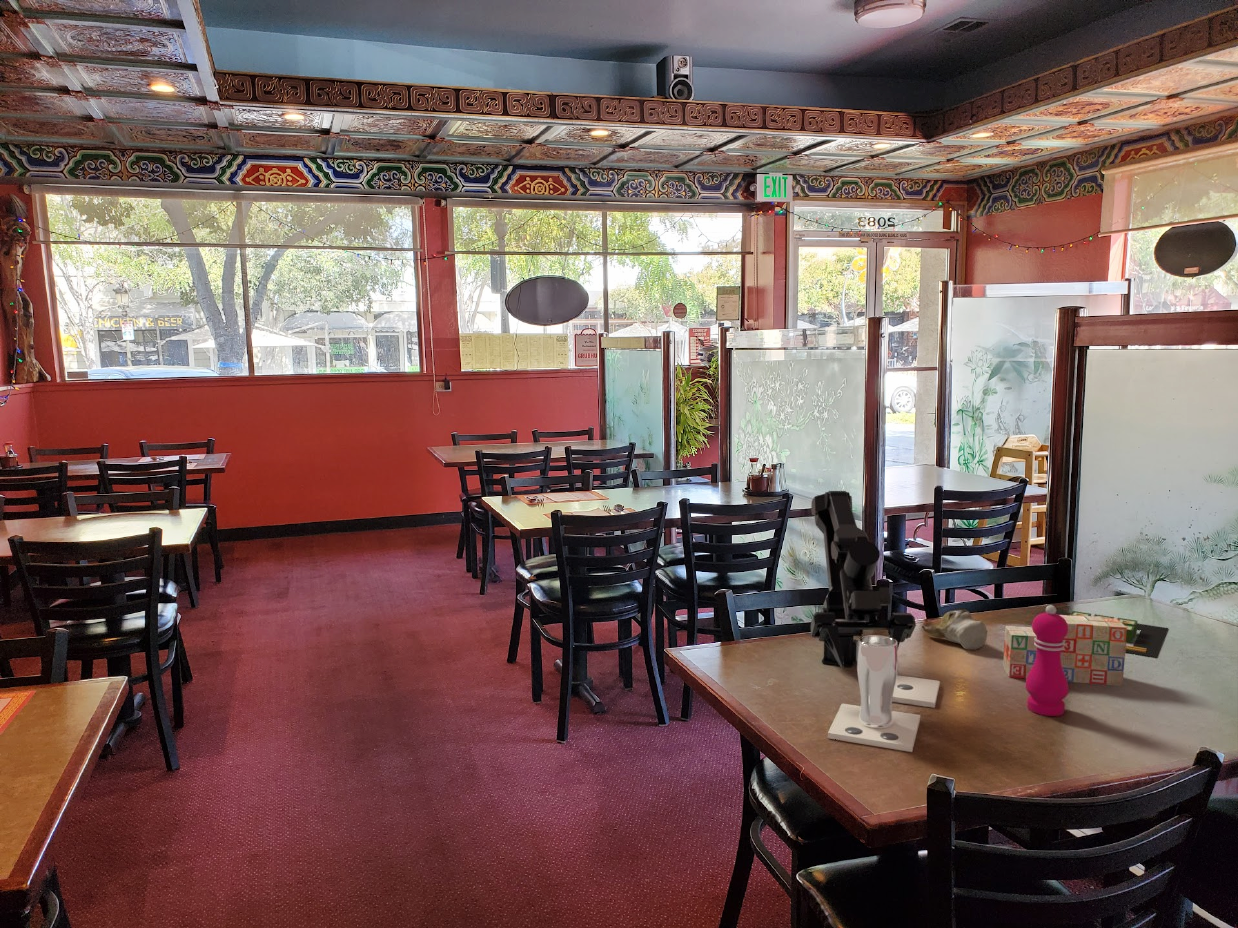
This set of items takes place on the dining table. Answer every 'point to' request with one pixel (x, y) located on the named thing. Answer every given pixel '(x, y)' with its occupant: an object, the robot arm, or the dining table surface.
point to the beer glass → (877, 679)
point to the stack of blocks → (1074, 650)
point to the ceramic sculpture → (960, 629)
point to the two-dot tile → (892, 737)
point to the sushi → (1146, 640)
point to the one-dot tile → (916, 691)
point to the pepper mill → (1048, 665)
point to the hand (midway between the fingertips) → (867, 667)
